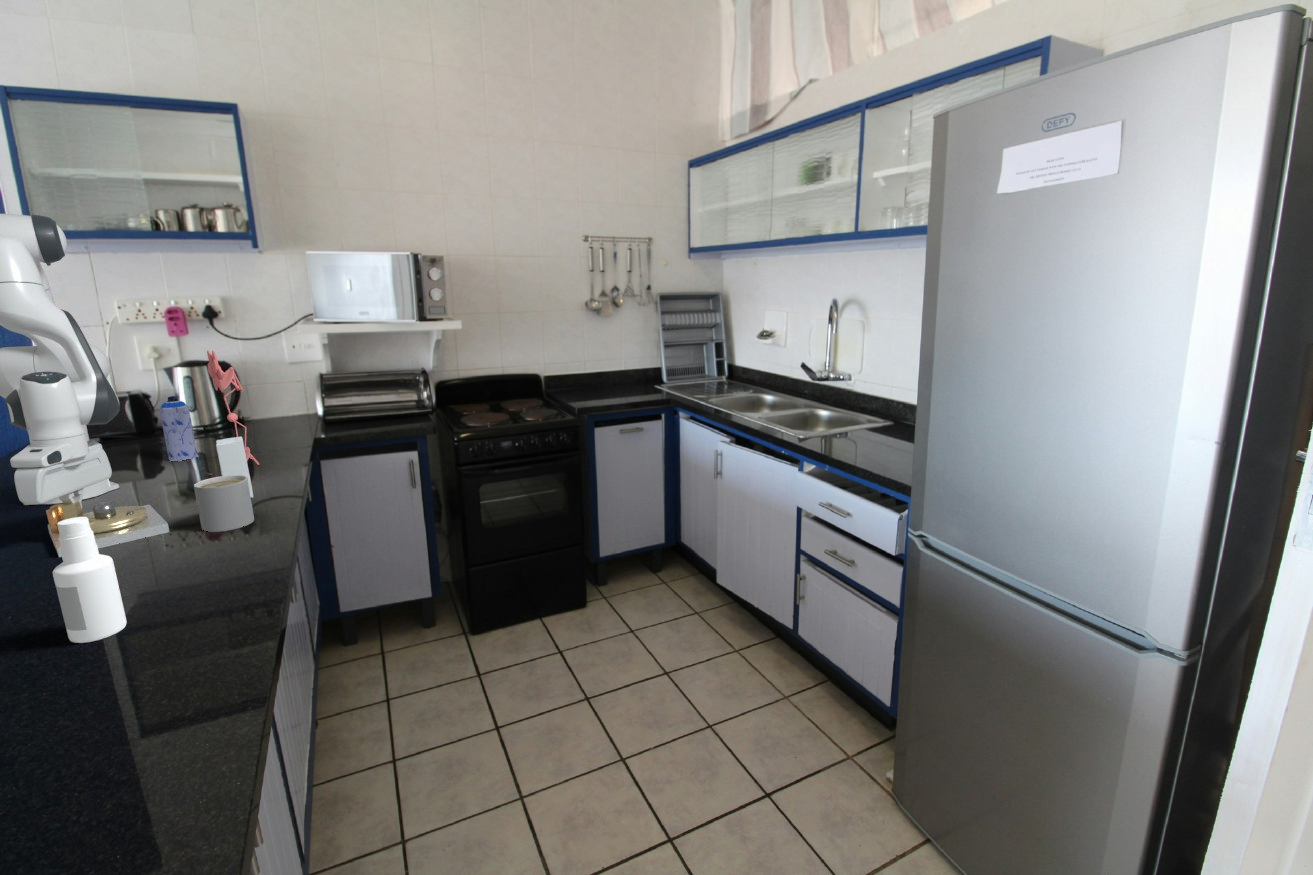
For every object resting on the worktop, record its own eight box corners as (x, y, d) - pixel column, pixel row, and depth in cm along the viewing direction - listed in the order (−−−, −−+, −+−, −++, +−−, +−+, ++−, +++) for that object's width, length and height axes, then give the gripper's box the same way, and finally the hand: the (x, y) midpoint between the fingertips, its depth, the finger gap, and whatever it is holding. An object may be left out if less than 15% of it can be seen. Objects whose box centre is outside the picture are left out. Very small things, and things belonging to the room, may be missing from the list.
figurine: (249, 454, 211) (228, 345, 202) (269, 469, 192) (246, 350, 184) (193, 464, 201) (168, 350, 192) (207, 481, 182) (180, 356, 174)
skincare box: (253, 497, 165) (244, 440, 161) (225, 502, 161) (215, 444, 158) (252, 490, 171) (243, 435, 168) (225, 494, 168) (215, 438, 165)
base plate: (49, 533, 142) (42, 503, 141) (151, 512, 155) (145, 484, 153) (59, 557, 129) (51, 523, 127) (169, 532, 142) (163, 501, 140)
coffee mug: (255, 525, 145) (248, 482, 142) (202, 535, 139) (193, 490, 137) (251, 509, 155) (244, 469, 153) (201, 518, 150) (193, 476, 148)
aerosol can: (203, 457, 209) (191, 395, 204) (175, 462, 202) (162, 399, 198) (191, 454, 213) (180, 394, 208) (164, 459, 206) (151, 397, 202)
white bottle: (92, 622, 102) (66, 513, 98) (137, 619, 103) (114, 511, 99) (56, 645, 96) (27, 530, 92) (106, 642, 96) (79, 527, 92)
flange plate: (158, 509, 150) (153, 488, 149) (131, 529, 137) (126, 506, 136) (74, 517, 145) (69, 496, 144) (38, 539, 132) (32, 516, 131)
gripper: (84, 438, 148) (97, 496, 151) (1, 462, 128) (18, 528, 131) (113, 437, 148) (125, 495, 151) (35, 461, 128) (51, 527, 131)
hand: (75, 511), depth 141 cm, fingers closed
